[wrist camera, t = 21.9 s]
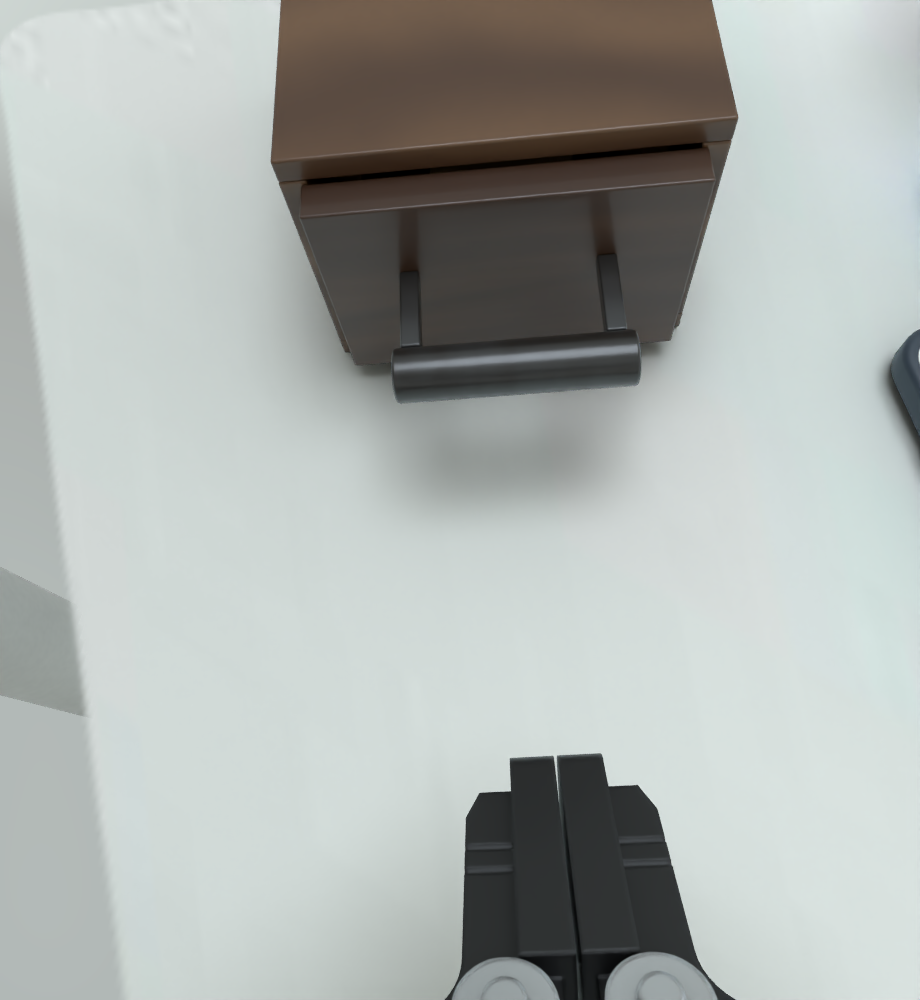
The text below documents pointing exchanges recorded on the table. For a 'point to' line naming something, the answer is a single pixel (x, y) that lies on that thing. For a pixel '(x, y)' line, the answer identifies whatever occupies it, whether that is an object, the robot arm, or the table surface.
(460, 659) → the table surface
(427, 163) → the cabinet
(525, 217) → the drawer
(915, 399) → the phone case
